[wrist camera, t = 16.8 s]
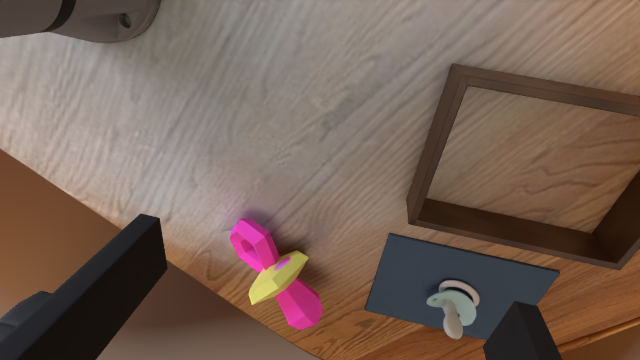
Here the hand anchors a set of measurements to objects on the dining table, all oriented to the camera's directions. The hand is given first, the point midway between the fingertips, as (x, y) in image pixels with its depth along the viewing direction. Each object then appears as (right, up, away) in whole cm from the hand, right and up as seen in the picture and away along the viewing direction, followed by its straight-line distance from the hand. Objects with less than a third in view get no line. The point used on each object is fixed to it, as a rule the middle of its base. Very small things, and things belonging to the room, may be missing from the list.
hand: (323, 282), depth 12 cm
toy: (-5, -7, +37) cm, 38 cm away
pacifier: (+19, -12, +35) cm, 41 cm away
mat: (+19, -12, +35) cm, 41 cm away
